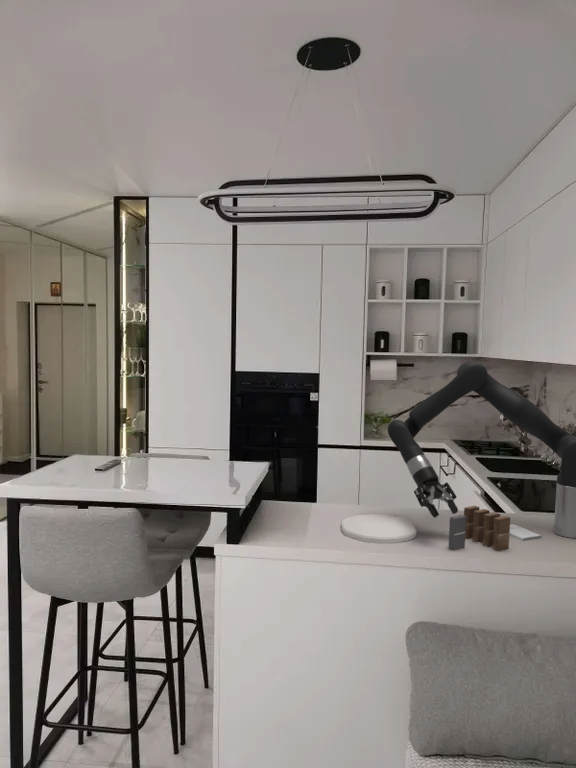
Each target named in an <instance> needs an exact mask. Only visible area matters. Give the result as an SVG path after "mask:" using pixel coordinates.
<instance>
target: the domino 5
mask: <svg viewBox="0 0 576 768" xmlns="http://www.w3.org/2000/svg"><path fill="white" fill-rule="evenodd" d="M510 524H511V516H507V515H500V517H497V518H494V535H493V546H492V550H494V551H497V552H501V551H504V550H508V549H509V546H510V535H509V533H510Z"/></svg>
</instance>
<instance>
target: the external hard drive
mask: <svg viewBox="0 0 576 768" xmlns="http://www.w3.org/2000/svg"><path fill="white" fill-rule="evenodd" d="M510 536H511V537H513V538H516V539H517V540H520V541H522V542H524V541H525V542H527V541H532V540H538V539H543V538H542V536H543V535H541V534H538V533H536V532H534V531H531V530H529V529H526V528H524V527H521V526H519V525H517V524H515V523H512V524H511V523H510V533H509V537H510Z"/></svg>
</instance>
